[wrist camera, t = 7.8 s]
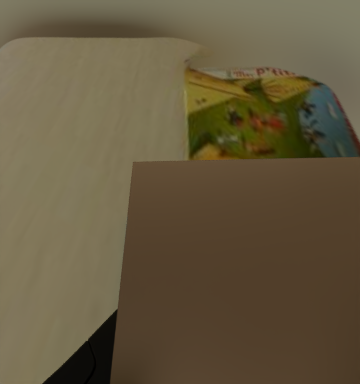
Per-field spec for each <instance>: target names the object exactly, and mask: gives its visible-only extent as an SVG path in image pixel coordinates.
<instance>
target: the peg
mask: <svg viewBox="0 0 360 384" xmlns="http://www.w3.org/2000/svg"><path fill="white" fill-rule="evenodd" d="M110 384H360V157H334V158H289V159H243V160H197V161H152V162H133V168H132V177H131V187H130V196H129V206H128V216H127V225H126V235H125V244H124V254H123V264H122V273H121V283H120V292H119V302H118V312H117V321H116V331H115V341H114V350H113V360H112V369H111V379H110Z"/></svg>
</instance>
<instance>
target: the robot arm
mask: <svg viewBox="0 0 360 384" xmlns="http://www.w3.org/2000/svg"><path fill="white" fill-rule="evenodd" d="M117 312H118V309H117V310H116V311H115V312H114V313H113V314H112V315H111V316H110V317H109V318H108V319H107V320H106V321H105V322H104V323H103V324H102V325H101V326H100V327H99V328H98V329H97V330H96V331H95V332H94V334H93V335H92V336H91V337H90V338H89V339H88V341H86V342H85V343H84V344H83V345H82V346H81V347H80V348H79V349H78V350H77V351H76V352H75V353H74V354H73V355H72V356H71V357H70V358H69V359H68V360H67V361H66V362H65V363H64V364H63V365H62V366H61V367H60V368H59V369H58V370H57V371H55V372H54V373H53V374H52V375H51V376H50V377H49V378H48V379H47V380H46V381H44V382H43V383H42V384H110V379H111V369H112V360H113V350H114V341H115V331H116V321H117Z"/></svg>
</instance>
